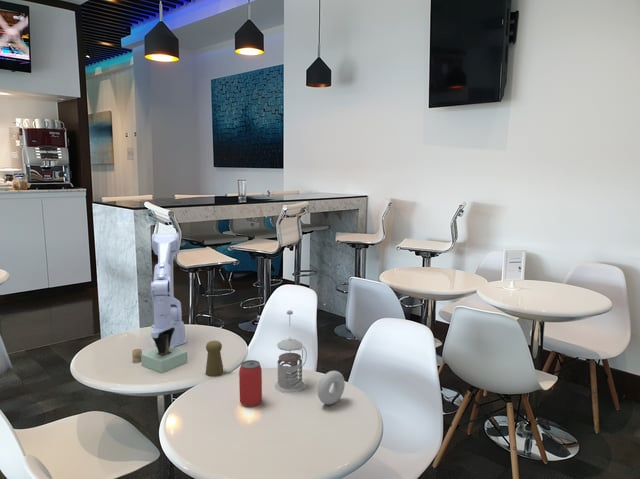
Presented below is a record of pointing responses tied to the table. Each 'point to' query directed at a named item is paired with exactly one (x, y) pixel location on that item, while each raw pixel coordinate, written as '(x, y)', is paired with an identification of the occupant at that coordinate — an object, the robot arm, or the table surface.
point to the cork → (214, 359)
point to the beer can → (250, 383)
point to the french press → (285, 380)
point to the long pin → (166, 349)
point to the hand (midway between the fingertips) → (164, 350)
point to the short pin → (136, 355)
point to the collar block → (164, 359)
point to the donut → (326, 383)
